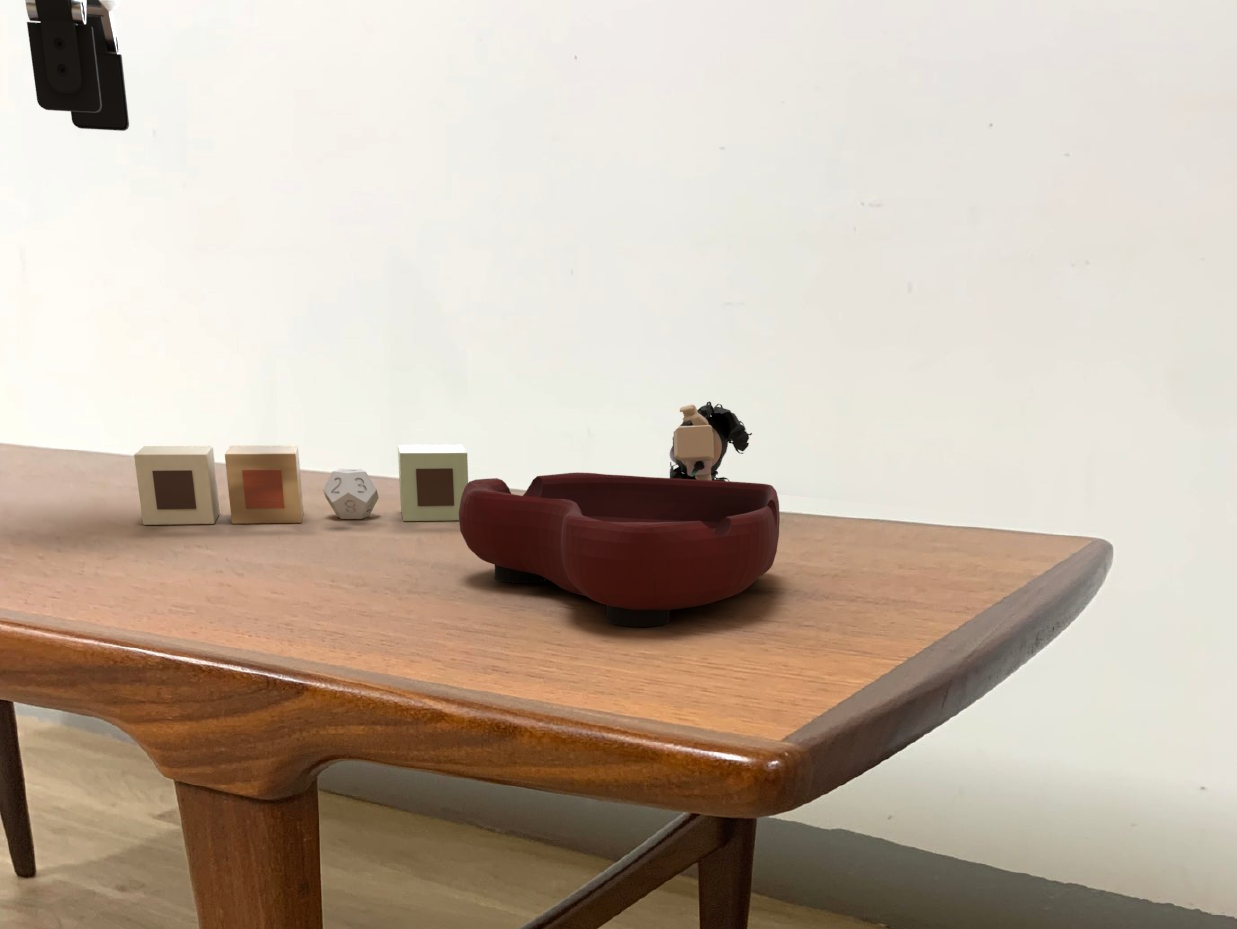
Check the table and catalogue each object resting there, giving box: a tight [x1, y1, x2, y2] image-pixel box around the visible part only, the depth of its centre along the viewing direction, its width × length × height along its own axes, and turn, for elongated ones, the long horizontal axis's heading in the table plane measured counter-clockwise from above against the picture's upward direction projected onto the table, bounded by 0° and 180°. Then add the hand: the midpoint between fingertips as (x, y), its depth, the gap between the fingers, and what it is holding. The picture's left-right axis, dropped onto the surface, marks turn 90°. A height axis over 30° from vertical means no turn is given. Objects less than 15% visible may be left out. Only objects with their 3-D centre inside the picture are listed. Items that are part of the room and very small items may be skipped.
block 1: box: [133, 445, 221, 526], centre depth 87 cm, size 4×4×4 cm
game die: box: [322, 468, 380, 520], centre depth 89 cm, size 4×4×3 cm
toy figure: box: [669, 401, 753, 481], centre depth 96 cm, size 7×6×15 cm
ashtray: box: [459, 471, 781, 628], centre depth 70 cm, size 18×16×5 cm
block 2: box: [224, 445, 304, 525], centre depth 88 cm, size 4×4×4 cm
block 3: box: [397, 444, 469, 522], centre depth 90 cm, size 4×4×4 cm
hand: (86, 120), depth 76 cm, fingers open, 9 cm apart
